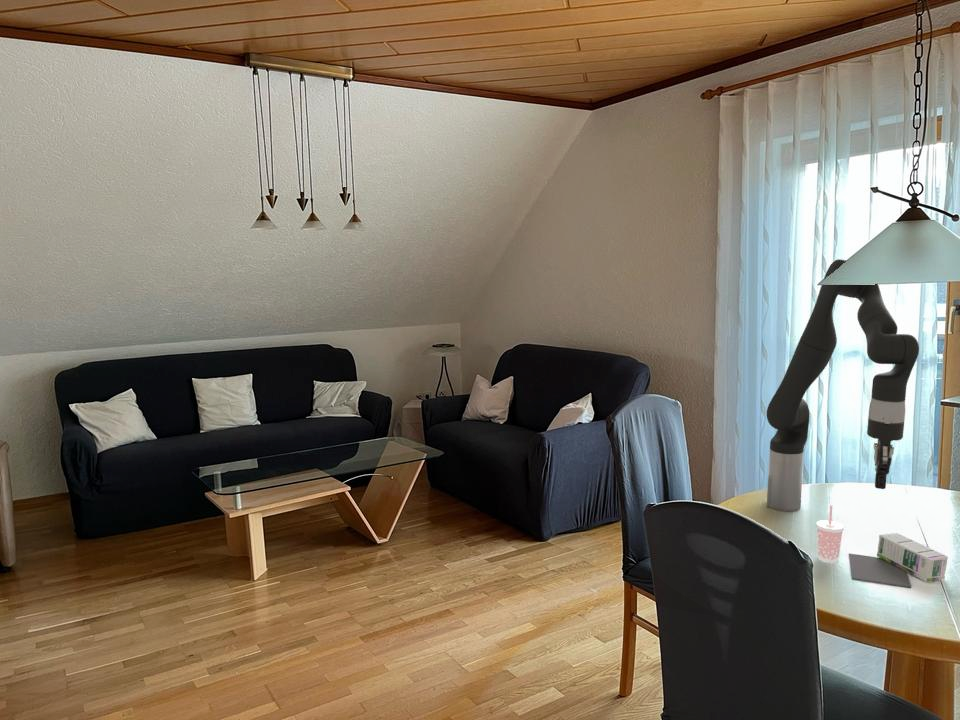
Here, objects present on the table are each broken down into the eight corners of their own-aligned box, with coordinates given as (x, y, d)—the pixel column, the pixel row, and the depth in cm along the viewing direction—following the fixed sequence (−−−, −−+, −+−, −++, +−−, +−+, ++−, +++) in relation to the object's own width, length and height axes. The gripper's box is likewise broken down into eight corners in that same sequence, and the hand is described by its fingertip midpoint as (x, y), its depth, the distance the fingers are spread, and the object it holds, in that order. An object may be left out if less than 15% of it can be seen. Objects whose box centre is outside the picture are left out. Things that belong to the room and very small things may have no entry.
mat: (851, 579, 171) (851, 577, 171) (848, 554, 185) (848, 553, 185) (911, 588, 166) (911, 586, 166) (903, 562, 180) (903, 560, 180)
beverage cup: (815, 552, 186) (818, 499, 184) (842, 556, 183) (845, 503, 181) (813, 561, 181) (816, 507, 179) (841, 566, 178) (844, 511, 176)
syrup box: (878, 534, 181) (929, 559, 168) (897, 532, 183) (949, 556, 169) (875, 556, 182) (926, 582, 169) (894, 553, 184) (946, 580, 170)
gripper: (866, 410, 181) (861, 477, 184) (870, 422, 170) (863, 494, 172) (901, 413, 178) (895, 481, 181) (907, 425, 167) (900, 498, 169)
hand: (879, 487), depth 177 cm, fingers closed
